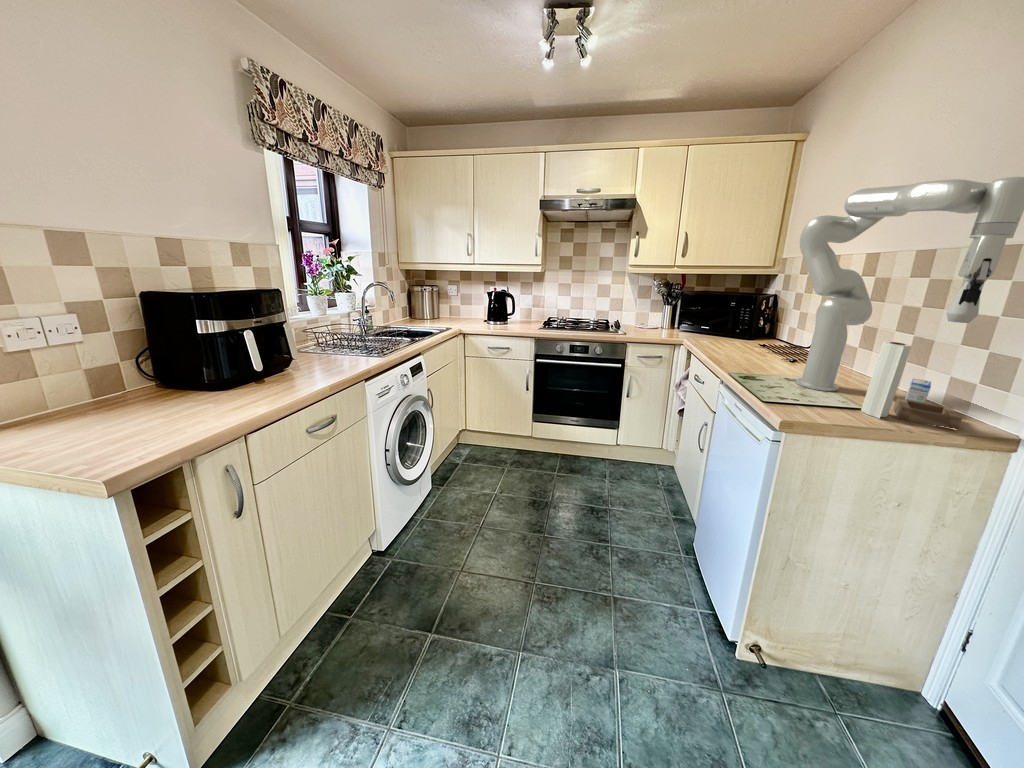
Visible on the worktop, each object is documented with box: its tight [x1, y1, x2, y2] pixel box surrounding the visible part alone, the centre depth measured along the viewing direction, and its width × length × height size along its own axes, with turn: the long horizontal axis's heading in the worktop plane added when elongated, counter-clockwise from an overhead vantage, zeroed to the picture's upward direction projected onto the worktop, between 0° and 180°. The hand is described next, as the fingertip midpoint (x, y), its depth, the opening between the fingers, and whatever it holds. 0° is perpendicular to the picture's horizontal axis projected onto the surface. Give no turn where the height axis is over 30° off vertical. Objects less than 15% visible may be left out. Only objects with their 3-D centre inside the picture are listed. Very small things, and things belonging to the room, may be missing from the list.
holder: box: [893, 397, 963, 430], centre depth 118 cm, size 12×12×4 cm
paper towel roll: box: [860, 341, 912, 420], centre depth 117 cm, size 7×6×21 cm
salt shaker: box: [946, 274, 989, 324], centre depth 108 cm, size 6×6×13 cm
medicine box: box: [904, 378, 932, 403], centre depth 127 cm, size 8×4×9 cm, turn 134°
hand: (965, 304), depth 109 cm, fingers closed on salt shaker, 3 cm apart
